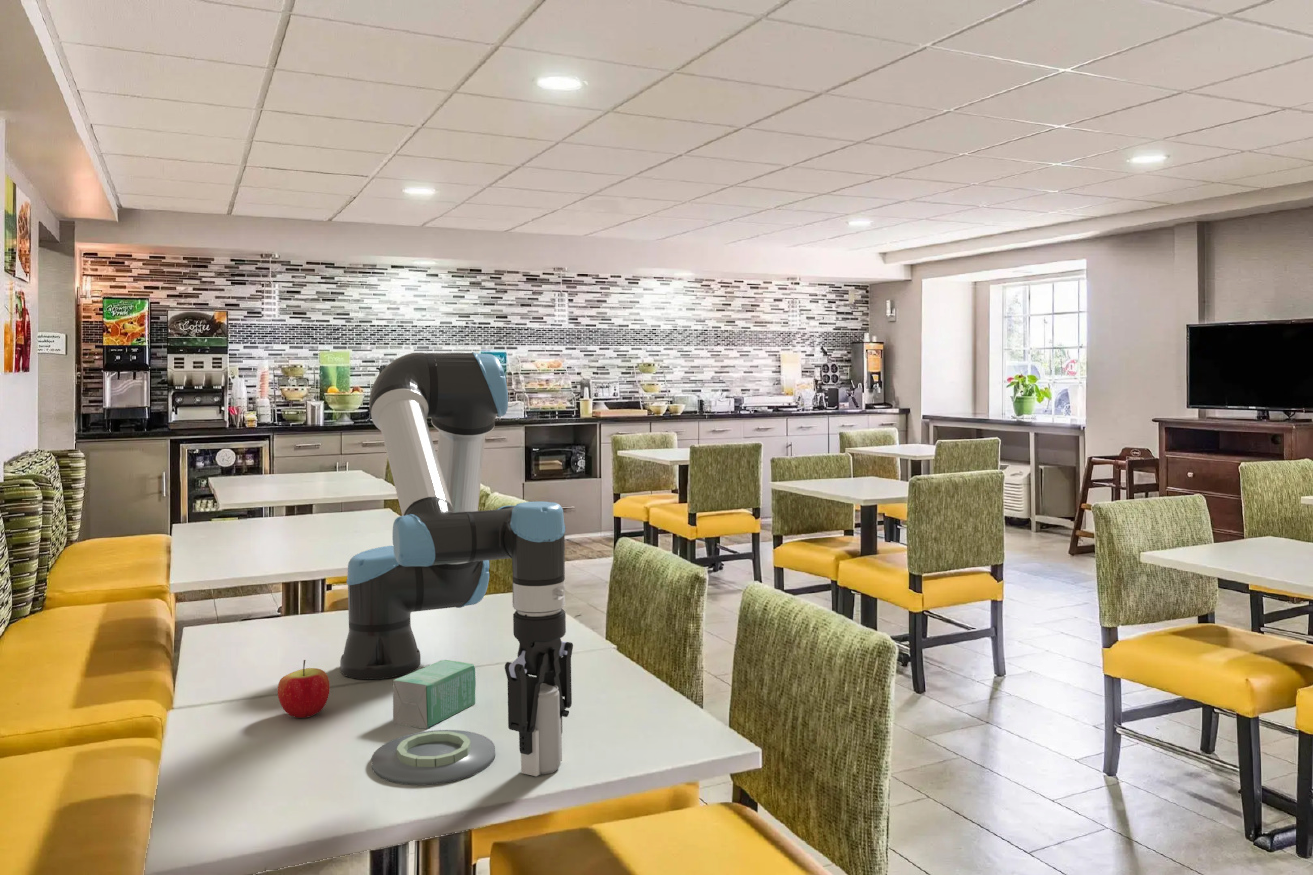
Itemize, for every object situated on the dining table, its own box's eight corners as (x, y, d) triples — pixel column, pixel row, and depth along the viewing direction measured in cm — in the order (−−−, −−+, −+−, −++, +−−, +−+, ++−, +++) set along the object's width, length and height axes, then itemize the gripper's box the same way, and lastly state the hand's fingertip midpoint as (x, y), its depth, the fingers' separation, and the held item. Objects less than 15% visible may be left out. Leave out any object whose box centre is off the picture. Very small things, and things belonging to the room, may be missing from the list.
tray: (345, 768, 139) (344, 753, 139) (431, 728, 155) (431, 715, 155) (437, 795, 130) (437, 779, 130) (519, 749, 146) (519, 735, 146)
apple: (281, 727, 156) (279, 667, 155) (275, 711, 163) (274, 654, 162) (334, 719, 159) (332, 660, 159) (326, 703, 167) (324, 647, 166)
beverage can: (528, 762, 141) (526, 683, 140) (560, 760, 142) (559, 682, 141) (526, 776, 137) (524, 694, 136) (560, 774, 137) (558, 693, 136)
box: (477, 703, 167) (476, 661, 166) (428, 730, 155) (426, 685, 154) (443, 698, 170) (442, 657, 169) (392, 724, 158) (390, 679, 157)
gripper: (521, 627, 128) (524, 796, 130) (595, 599, 143) (597, 750, 145) (478, 620, 132) (481, 784, 133) (554, 594, 147) (556, 740, 149)
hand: (541, 766), depth 139 cm, fingers closed on beverage can, 5 cm apart
